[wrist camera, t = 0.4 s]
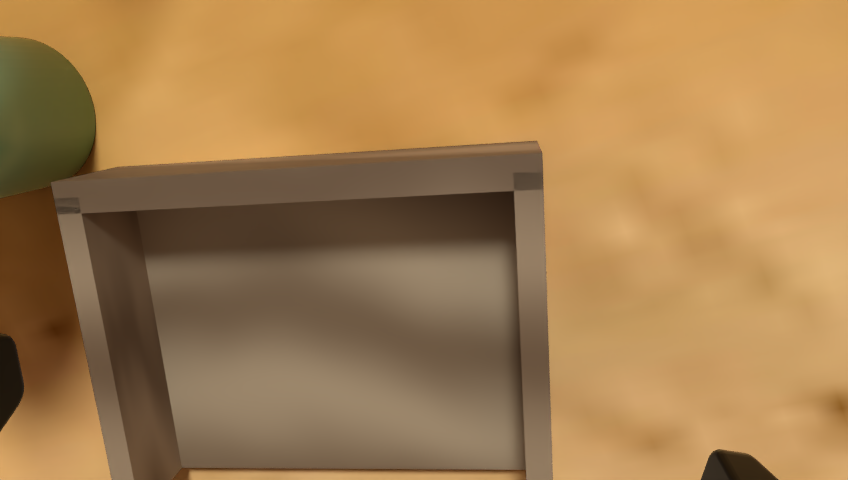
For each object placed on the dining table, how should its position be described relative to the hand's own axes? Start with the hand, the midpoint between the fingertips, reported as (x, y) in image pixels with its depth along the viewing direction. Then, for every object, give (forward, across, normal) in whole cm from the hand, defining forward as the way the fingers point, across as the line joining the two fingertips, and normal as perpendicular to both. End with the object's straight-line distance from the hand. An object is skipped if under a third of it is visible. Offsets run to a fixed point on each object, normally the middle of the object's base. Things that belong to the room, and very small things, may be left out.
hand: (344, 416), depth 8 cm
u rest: (+13, +4, +7) cm, 15 cm away
